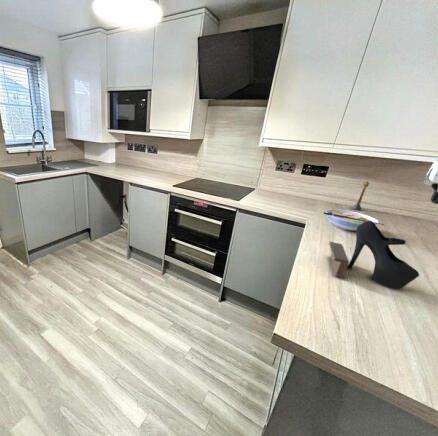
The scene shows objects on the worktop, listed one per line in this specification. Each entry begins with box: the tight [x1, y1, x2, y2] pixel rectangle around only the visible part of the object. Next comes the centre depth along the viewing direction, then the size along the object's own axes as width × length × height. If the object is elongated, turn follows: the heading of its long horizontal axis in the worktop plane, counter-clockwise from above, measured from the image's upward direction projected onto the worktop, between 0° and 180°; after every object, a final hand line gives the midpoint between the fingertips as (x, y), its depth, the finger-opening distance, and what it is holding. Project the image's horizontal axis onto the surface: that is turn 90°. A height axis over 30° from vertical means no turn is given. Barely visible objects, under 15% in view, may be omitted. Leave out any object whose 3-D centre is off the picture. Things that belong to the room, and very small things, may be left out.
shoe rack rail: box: [328, 241, 350, 279], centre depth 90 cm, size 4×16×7 cm, turn 149°
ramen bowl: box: [323, 208, 385, 232], centre depth 129 cm, size 25×23×8 cm
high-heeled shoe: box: [347, 221, 420, 290], centre depth 82 cm, size 8×19×20 cm, turn 33°
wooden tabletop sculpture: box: [351, 180, 370, 211], centre depth 162 cm, size 6×5×20 cm
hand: (436, 203), depth 82 cm, fingers closed
